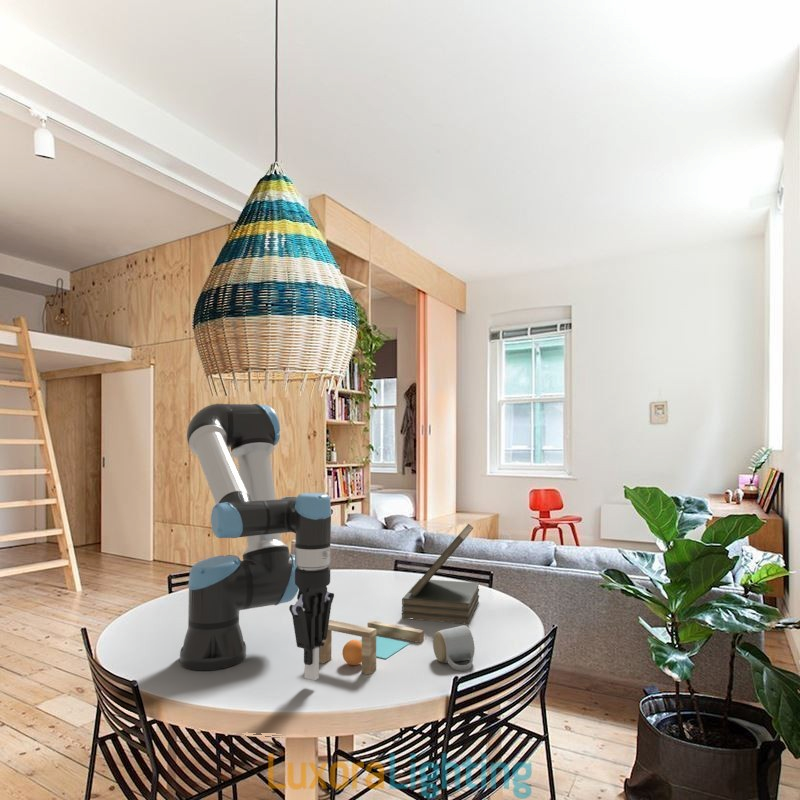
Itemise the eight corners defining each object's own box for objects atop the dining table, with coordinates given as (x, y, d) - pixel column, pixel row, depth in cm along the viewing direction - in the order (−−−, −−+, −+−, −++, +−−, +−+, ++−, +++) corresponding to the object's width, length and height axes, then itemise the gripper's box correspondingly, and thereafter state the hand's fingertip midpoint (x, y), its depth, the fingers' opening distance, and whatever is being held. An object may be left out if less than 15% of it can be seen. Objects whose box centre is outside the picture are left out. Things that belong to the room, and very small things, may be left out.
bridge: (369, 674, 137) (369, 632, 137) (316, 662, 144) (317, 622, 144) (376, 669, 139) (376, 629, 140) (324, 657, 146) (324, 618, 147)
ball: (338, 666, 141) (337, 643, 141) (351, 657, 146) (350, 634, 146) (358, 671, 139) (357, 647, 139) (370, 661, 144) (370, 638, 144)
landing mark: (344, 650, 151) (344, 649, 151) (369, 635, 162) (369, 634, 162) (385, 659, 145) (385, 658, 145) (409, 643, 156) (409, 642, 156)
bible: (419, 598, 198) (419, 520, 199) (479, 602, 193) (479, 523, 194) (401, 619, 176) (401, 532, 177) (469, 625, 171) (469, 536, 172)
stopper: (367, 632, 164) (367, 622, 165) (371, 629, 166) (371, 620, 166) (420, 642, 157) (420, 632, 157) (423, 640, 158) (423, 630, 159)
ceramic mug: (430, 656, 147) (431, 624, 147) (461, 652, 150) (461, 621, 150) (449, 674, 137) (449, 640, 138) (481, 669, 140) (482, 635, 140)
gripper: (308, 574, 124) (306, 693, 123) (344, 562, 135) (343, 670, 134) (279, 570, 127) (277, 685, 126) (317, 558, 139) (316, 664, 138)
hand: (311, 677), depth 130 cm, fingers closed
